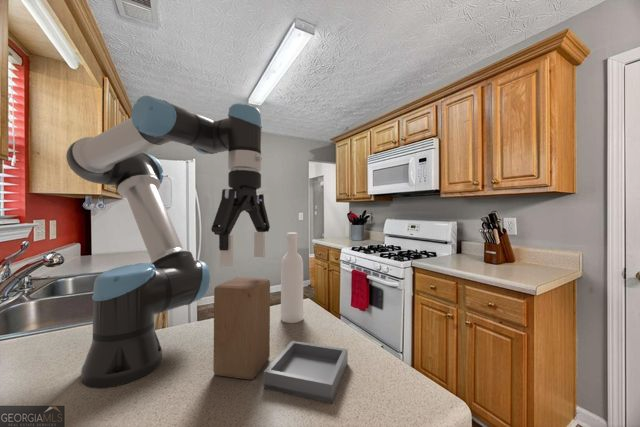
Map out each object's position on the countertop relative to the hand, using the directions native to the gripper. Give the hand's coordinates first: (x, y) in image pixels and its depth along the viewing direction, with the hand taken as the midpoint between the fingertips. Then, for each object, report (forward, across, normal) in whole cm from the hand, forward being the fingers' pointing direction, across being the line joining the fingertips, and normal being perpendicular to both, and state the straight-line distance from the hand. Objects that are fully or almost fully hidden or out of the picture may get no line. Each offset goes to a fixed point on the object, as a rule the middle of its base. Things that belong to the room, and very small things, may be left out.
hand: (244, 260), depth 63 cm
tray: (+25, +2, -16) cm, 30 cm away
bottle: (+25, +31, +1) cm, 40 cm away
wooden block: (+25, 0, 0) cm, 25 cm away
